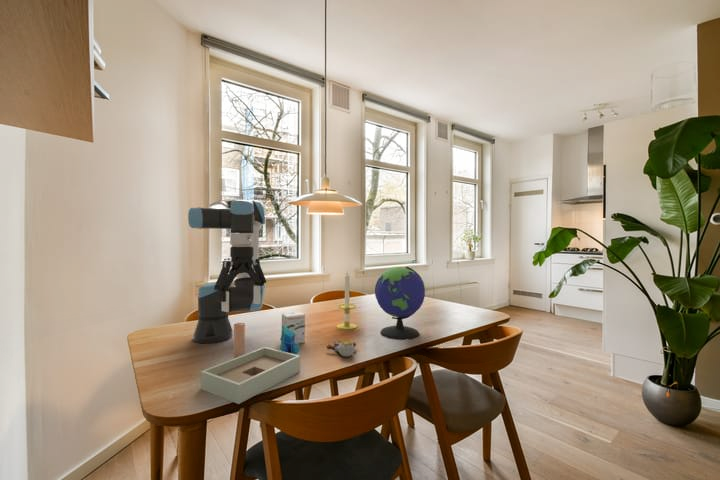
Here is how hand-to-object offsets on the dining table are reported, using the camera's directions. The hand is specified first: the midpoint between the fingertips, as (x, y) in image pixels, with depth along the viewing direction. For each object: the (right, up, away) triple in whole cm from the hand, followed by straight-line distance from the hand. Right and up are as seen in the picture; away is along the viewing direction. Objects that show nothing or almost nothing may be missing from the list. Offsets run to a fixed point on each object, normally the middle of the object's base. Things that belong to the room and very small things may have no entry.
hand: (241, 307), depth 113 cm
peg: (-1, -19, 0) cm, 19 cm away
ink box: (+14, -19, +20) cm, 31 cm away
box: (+9, -19, -14) cm, 25 cm away
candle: (+34, -19, +44) cm, 59 cm away
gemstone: (+16, -19, +3) cm, 25 cm away
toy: (+34, -19, +10) cm, 41 cm away
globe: (+58, -19, +33) cm, 70 cm away
